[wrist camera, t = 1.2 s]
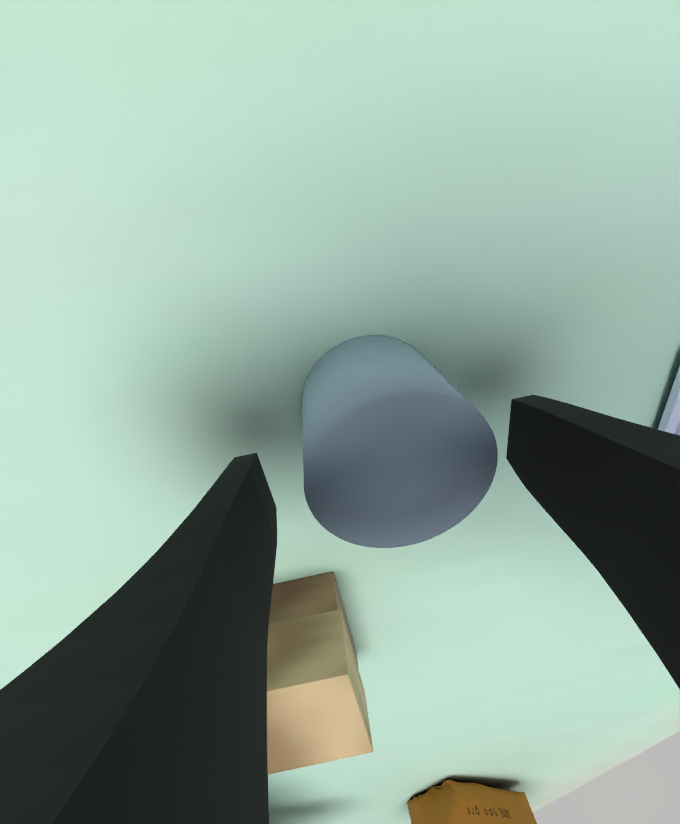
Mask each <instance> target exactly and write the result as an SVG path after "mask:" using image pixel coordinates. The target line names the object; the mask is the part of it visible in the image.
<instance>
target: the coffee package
mask: <svg viewBox="0 0 680 824" xmlns="http://www.w3.org/2000/svg"><path fill="white" fill-rule="evenodd" d="M407 804H408V809H409V813H410V818H411V823H412V824H537V823H536V820H535V818H534V815H533V813H532V810H531V808H530V806H529V803H528V800H527V798H526V795H525V793H524V792H515V791H510V790H505V789H500V788H493V787H488V786H485V785H482V784H478V783H468V782H463V783H461V782H456V781H453V780H446V781H444V782H443V784H442V785H439V786H433V787H431V788H430V789H429V790H427V791H426V793H424V794H422V795H420V794H419V795H418V797H413V799H412V800H410V801H408V803H407Z"/></svg>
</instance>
